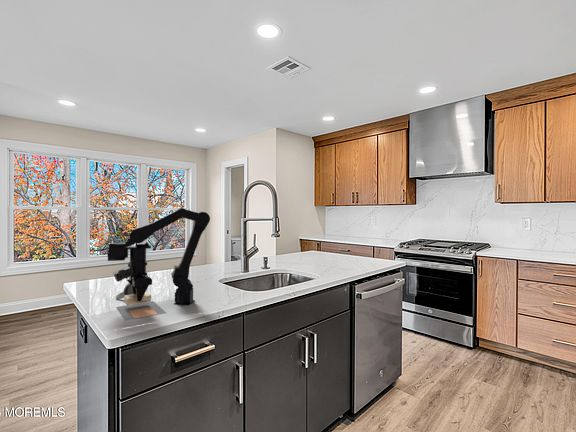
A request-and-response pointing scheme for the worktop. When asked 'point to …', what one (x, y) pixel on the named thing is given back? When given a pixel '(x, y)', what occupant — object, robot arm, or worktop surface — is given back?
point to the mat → (140, 310)
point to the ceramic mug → (125, 291)
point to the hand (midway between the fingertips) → (137, 299)
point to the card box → (133, 298)
